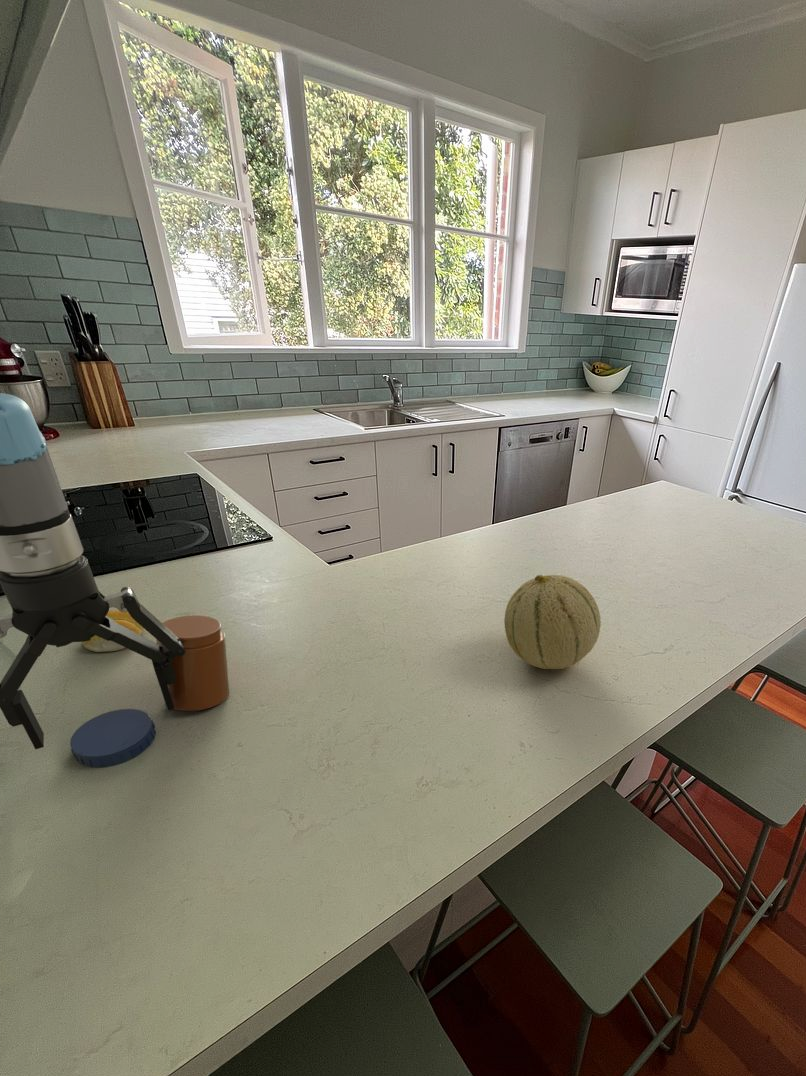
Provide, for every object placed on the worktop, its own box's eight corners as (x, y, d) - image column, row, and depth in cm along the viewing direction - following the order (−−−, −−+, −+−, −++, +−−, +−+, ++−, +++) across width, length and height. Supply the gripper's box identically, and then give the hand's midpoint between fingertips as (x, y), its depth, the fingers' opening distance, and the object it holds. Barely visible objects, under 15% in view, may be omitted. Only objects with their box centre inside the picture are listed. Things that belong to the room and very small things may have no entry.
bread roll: (149, 621, 91) (143, 600, 89) (138, 650, 84) (130, 628, 82) (93, 626, 89) (85, 605, 87) (77, 656, 82) (67, 634, 80)
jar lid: (159, 751, 67) (155, 740, 66) (75, 778, 62) (69, 766, 62) (152, 711, 73) (148, 700, 72) (74, 732, 69) (69, 722, 68)
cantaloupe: (605, 685, 83) (624, 599, 75) (511, 691, 80) (520, 602, 72) (575, 634, 95) (588, 555, 87) (493, 638, 93) (499, 557, 84)
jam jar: (159, 687, 75) (149, 618, 71) (220, 676, 80) (215, 610, 76) (171, 716, 70) (161, 643, 66) (236, 702, 75) (231, 633, 70)
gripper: (-139, 606, 46) (-27, 781, 57) (183, 553, 58) (223, 706, 70) (-121, 572, 51) (-21, 738, 63) (172, 530, 63) (211, 675, 75)
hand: (108, 722), depth 66 cm, fingers open, 13 cm apart
